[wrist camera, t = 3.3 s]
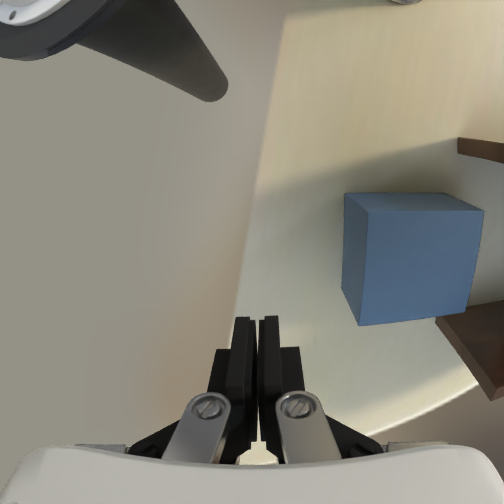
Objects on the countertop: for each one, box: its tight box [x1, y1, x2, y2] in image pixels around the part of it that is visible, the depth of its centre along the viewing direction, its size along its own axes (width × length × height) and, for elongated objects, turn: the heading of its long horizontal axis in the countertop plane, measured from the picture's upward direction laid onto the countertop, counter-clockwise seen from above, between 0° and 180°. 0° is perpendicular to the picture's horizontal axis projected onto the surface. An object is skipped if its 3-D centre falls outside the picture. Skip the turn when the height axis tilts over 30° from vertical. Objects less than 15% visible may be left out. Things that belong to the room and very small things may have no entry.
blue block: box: [341, 193, 484, 326], centre depth 19 cm, size 8×7×5 cm
